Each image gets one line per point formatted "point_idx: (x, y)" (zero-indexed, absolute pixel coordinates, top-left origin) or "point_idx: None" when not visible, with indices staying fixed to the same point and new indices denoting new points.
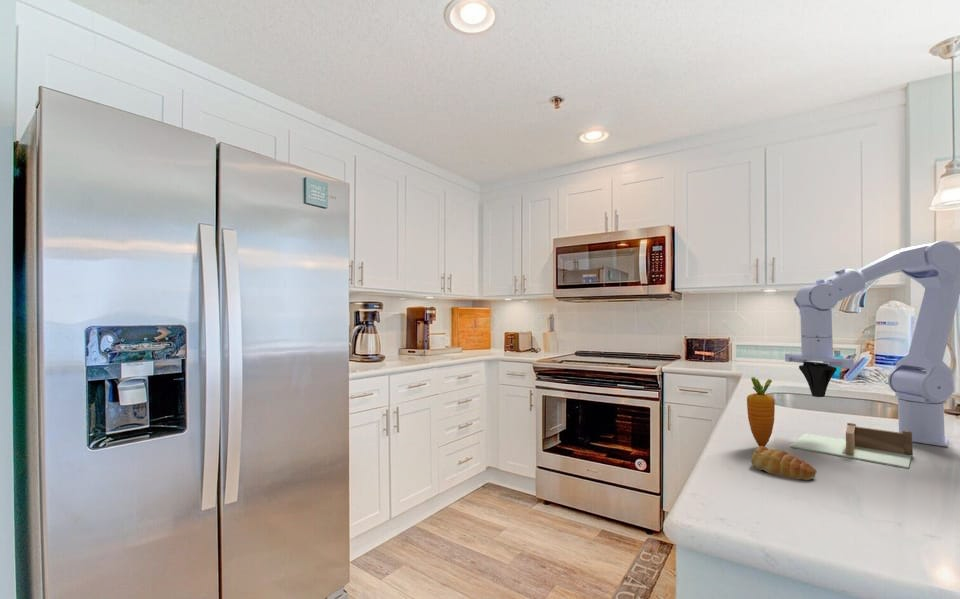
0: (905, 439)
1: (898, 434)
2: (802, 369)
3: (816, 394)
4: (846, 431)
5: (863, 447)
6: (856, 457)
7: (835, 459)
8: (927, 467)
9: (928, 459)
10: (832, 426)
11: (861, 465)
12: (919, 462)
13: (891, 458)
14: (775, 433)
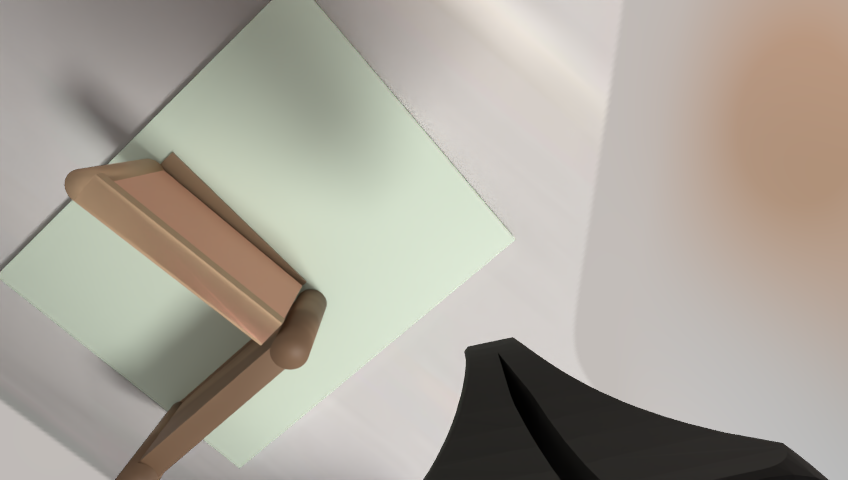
0: (143, 446)
1: (154, 447)
2: (709, 452)
3: (474, 353)
4: (121, 198)
5: None
6: None
7: (100, 60)
8: (38, 358)
9: None
10: None
11: (19, 111)
12: (103, 382)
13: (114, 305)
14: (553, 103)
